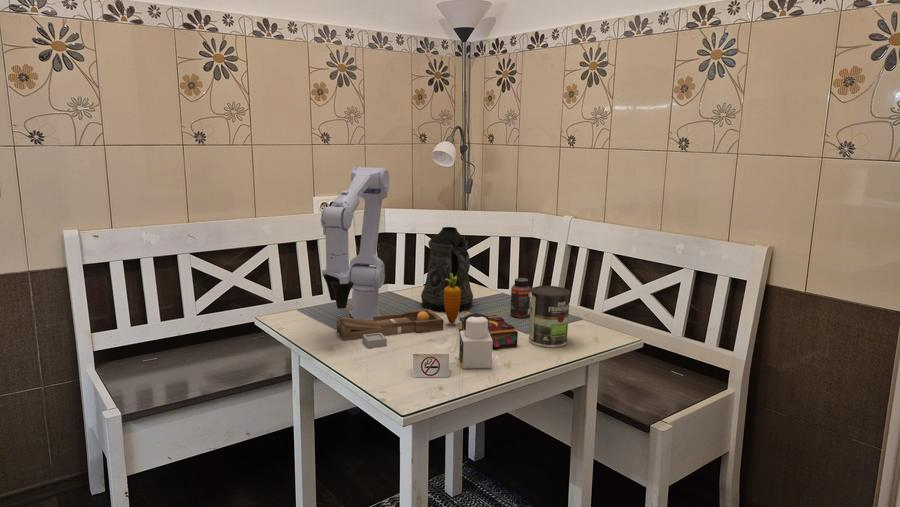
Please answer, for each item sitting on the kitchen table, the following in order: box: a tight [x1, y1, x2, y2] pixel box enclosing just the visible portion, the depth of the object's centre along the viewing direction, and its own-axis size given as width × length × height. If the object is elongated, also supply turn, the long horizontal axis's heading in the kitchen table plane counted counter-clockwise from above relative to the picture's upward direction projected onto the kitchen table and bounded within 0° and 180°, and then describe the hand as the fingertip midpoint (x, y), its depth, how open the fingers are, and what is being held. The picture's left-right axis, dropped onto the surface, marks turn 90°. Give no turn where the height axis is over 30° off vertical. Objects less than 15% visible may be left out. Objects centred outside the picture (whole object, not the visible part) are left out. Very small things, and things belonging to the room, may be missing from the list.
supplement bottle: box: [510, 277, 532, 319], centre depth 183 cm, size 6×6×11 cm
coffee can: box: [528, 285, 571, 348], centre depth 162 cm, size 10×10×14 cm
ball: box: [417, 311, 429, 321], centre depth 174 cm, size 4×4×4 cm
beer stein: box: [420, 226, 474, 314], centre depth 190 cm, size 16×19×25 cm
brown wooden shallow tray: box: [336, 309, 444, 341], centre depth 169 cm, size 10×28×4 cm, turn 113°
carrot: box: [444, 273, 461, 326], centre depth 173 cm, size 5×5×15 cm
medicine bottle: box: [458, 312, 493, 370], centre depth 146 cm, size 7×7×12 cm
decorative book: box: [458, 314, 519, 349], centre depth 163 cm, size 11×16×5 cm
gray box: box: [362, 333, 388, 349], centre depth 158 cm, size 5×5×2 cm
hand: (338, 303), depth 159 cm, fingers open, 7 cm apart
